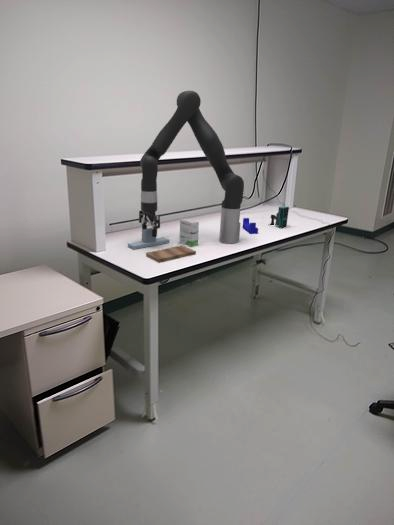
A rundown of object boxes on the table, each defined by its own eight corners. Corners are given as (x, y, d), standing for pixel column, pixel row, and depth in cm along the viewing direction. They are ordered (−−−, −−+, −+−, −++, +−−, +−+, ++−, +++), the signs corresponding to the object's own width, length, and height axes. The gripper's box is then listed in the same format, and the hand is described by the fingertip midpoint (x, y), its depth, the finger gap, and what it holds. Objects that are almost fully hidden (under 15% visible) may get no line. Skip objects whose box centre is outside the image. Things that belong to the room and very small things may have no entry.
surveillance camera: (274, 203, 236) (289, 206, 230) (272, 223, 240) (286, 227, 234) (269, 204, 232) (284, 208, 226) (267, 225, 236) (281, 228, 230)
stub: (163, 239, 198) (163, 225, 196) (169, 242, 195) (169, 227, 192) (127, 246, 186) (127, 230, 184) (133, 249, 183) (133, 233, 180)
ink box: (198, 245, 194) (199, 221, 190) (191, 247, 190) (192, 222, 186) (186, 241, 199) (186, 217, 195) (178, 242, 196) (179, 219, 192)
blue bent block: (257, 233, 218) (258, 223, 215) (249, 234, 216) (250, 223, 214) (249, 228, 228) (250, 217, 226) (242, 228, 227) (243, 218, 225)
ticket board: (182, 248, 187) (182, 245, 187) (195, 254, 180) (196, 250, 180) (146, 256, 175) (146, 252, 175) (159, 262, 168) (159, 258, 168)
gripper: (164, 202, 181) (164, 237, 186) (147, 197, 191) (147, 230, 196) (150, 204, 176) (151, 239, 182) (133, 198, 186) (134, 232, 192)
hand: (149, 234), depth 189 cm, fingers open, 8 cm apart
